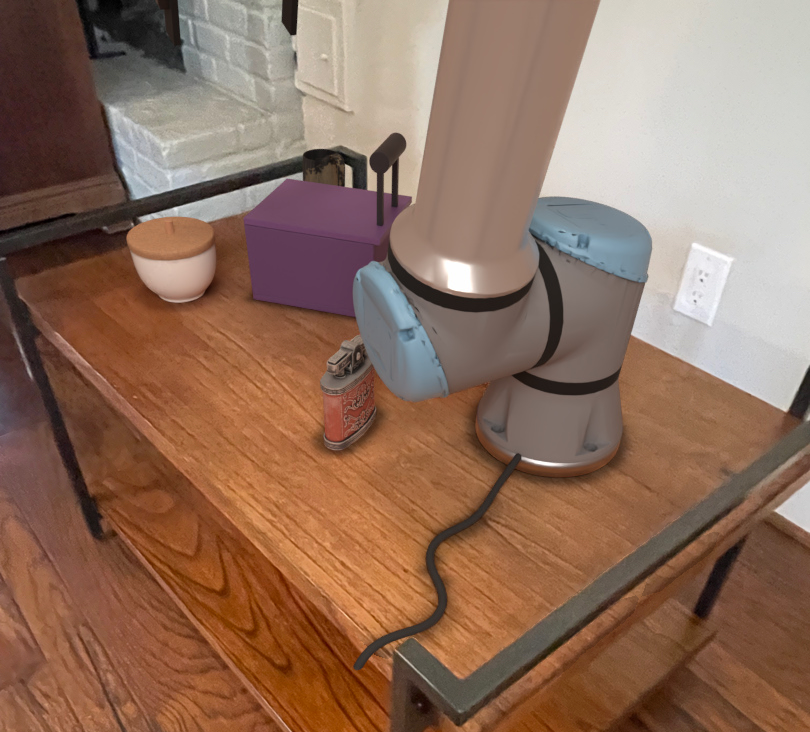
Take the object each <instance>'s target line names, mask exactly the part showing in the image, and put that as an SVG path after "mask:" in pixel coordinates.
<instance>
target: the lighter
mask: <svg viewBox="0 0 810 732" xmlns="http://www.w3.org/2000/svg"><path fill="white" fill-rule="evenodd" d="M319 387H320V390H321V392H322V403H323V406H322V407H323V419H324V433H323V444H324V446H325V447H326V448H327V449H329V450H333V451H342V450H345V449H347V448H348V447H350V446H351V445H352V444H354V443H355V442H357V441H358V440H359V439H361V437H363V436H364V435H365V433H366V432H367V431H368V430H369V428H370V427H371V426H372V425H373V424H374V421H375V419H376V418H377V407H376V405H375V368H374V366H373V364H372V362H371V360H370V358H369V356H368V354H367V352H366V349H365V347H364V344H363V341H362V338H361V335H360V334H357V335H355V336H354V337H353V338H352V339H351V340H347V339H344V340H343V341H342V342H341V344H340V347H339V350H338V351H336V352H335V353H334V354H333V355H331V357H329V358H328V359H327V360H326V371H325V372H324V374H323V375H322V376H321V377H320V380H319Z"/></svg>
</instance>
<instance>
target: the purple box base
mask: <svg viewBox="0 0 810 732" xmlns="http://www.w3.org/2000/svg"><path fill="white" fill-rule="evenodd" d="M243 227H244V235H245V242H246V250H247V258H248V267H249V274H250V282H251V290H252V298H253V300H256V301H262V302H268V303H273V304H279V305H285V306H290V307H296V308H301V309H307V310H312V311H318V312H324V313H328V314H329V313H330V314H335V315H341V316H348V317H351V318H352V317H353V318H356V316H355V311H354V304H353V282H354V278H355V275H356V273H357V271H358V270H359V269H361V268H363V267H364V266H366V265H368V264H369V263H370V262H371V261H376V262H382V261H384V260H385V259H386V257H387V251H388V244H389V237H390V233H389V234H388V235H387V237H386V238H385V239H384V241H383V242H382V243H381V245H373V244H367V243H361V242H354V241H348V240H342V239H335V238H329V237H323V236H316V235H310V234H304V233H297V232H291V231H285V230H278V229H272V228H266V227H259V226H253V225H247V224H244V226H243Z"/></svg>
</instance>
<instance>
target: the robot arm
mask: <svg viewBox="0 0 810 732" xmlns="http://www.w3.org/2000/svg"><path fill="white" fill-rule="evenodd" d="M601 1H602V0H448V5H447V10H446V17H445V20H444V21H445V22H444V27H443V34H442V39H441V46H440V54H439V57H438V65H437V70H436V76H435V82H434V83H435V84H434V88H433V94H432V99H431V106H430V112H429V117H428V118H429V119H428V125H427V130H426V137H425V143H424V150H423V155H422V160H421V165H420V172H419V179H418V183H417V184H418V185H417V191H416V196H415V197H416V198H415V202H414V203H413V204H412V203H411V204H410V206H409V207H407V208H406V209H404V210H403V211H402V212H401V213H400V214H399V215H398V216H397V217H396V218H395V220H394V222H393V224H392V227H391V231H390V237H389V244H388V251H387V257H386V259H385V260H384V261H382V262H376V261H371V262H370V263H369V264H368V265H366V266H364V267H363V268H361V269H359V270H358V271H357V273H356V275H355V278H354V282H353V304H354V311H355V316H356V317H355V321H356V324H357V328H358V332H359V335H361V338H362V341H363V344H364V347H365V349H366V352H367V354H368V356H369V358H370V360H371V362H372V364H373V366H374V371H375V372H376V374H377V376H378V378H380V380H381V382H382V383H383V384H384V385H385V387H386V388H387V389H388V390H389V391H390V392H391V394H392V395H394V396H396V397H397V398H398V399H400V400H402V401H405V402H411V403H420V402H425V401H429V400H434V399H438V398H440V399H446V398H448V397H449V396H451V395H453V394H456V393H460V392H462V391H465V390H469V389H472V388H476V387H478V386H481V385H485V384H488V385H487V387H486V388H485V390H484V392H483V394H482V396H481V398H480V399H479V402H478V403H477V406H476V408H477V410H476V415H475V424H474V427H475V434H476V437H477V439H478V441H479V443H480V444H481V446H482V447H483V448H484V449H485V450H486V452H488V453H489V454H490V455H491V456H492V457H493V458H494V459H496V460H498V461H499V462H500V463H502V464H504V465H505V466H506V467H505V468H504V469H503V471H502V473H500V476H498V478H497V480H495V482H494V484H493V486H492V487H491V489H490V490H489V492H488V494H487V495H486V497H485V498H484V500H483V502H482V503H481V505H480V506H479V507H478V508H477V509H476V511H475V512H474V513H472V514H471V515H470V516H469V517H467V518H465V519H464V520H462V521H460V522H458V523H456V524H455V525H453V526H450V527H448V528H446V529H444V530H442V531H441V532H439V533H438V534H437V535H436V536H435V537H434V538H432V539H431V541H430V543H429V544H428V546H427V549H426V551H425V564H426V568H427V572H428V574H429V576H430V578H431V580H432V582H433V584H434V587H435V590H436V593H437V598H438V602H437V605H436V609H435V610H434V611H433V613H432V614H431V615H430V616H429V617H428V618H426V619H425V620H423V621H421V622H419V623H416V624H414V625H410V626H408V627H404V628H401V629H398V630H394V631H391V632H388V633H386V634H384V635H382V636H380V637H379V638H377V639H375V640H374V641H373V642H371V643H369V644H368V645H367V646H366V648H364V649H363V651H362V652H361V653H360V654H359V656H358V657H357V659H356V660H355V662H354V663H353V666H352V668H353V670H355V671H360V670H362V669H363V668H364V666H365V665H366V663H367V662H368V661H369V659H370V658H371V657H372V656H373V655H374V654H375V653H376V652H377V651H379V650H380V649H382V648H383V647H385V646H386V645H389V644H391V643H393V642H396V641H398V640H399V641H400V640H402V639H405V638H408V637H411V636H415V635H417V634H420V633H423V632H426V631H428V630H429V629H431V628H432V627H434V626H435V625H436V624H437V623H439V622H440V620H441V619H442V617H443V616H444V614H445V612H446V609H447V606H448V593H447V590H446V586H445V584H444V581H443V580H442V577H441V575H440V573H439V571H438V569H437V566H436V562H435V554H436V550H437V548H438V547H439V546H440V545H441V543H443V542H444V541H446V540H447V539H448V538H450V537H451V536H454V535H456V534H458V533H460V532H462V531H464V530H466V529H468V528H469V527H471V526H473V525H474V524H476V523H477V522H478V521H479V520H480V519H481V518H482V517H483V516H484V515H485V514H486V513H487V512H488V510H489V509H490V508H491V506H492V504H493V503H494V501H495V499H496V497H497V496H498V494H499V492H500V491H501V489H502V488H503V487H504V484H505V483H506V482H507V480H508V479H509V477H510V476H511V475H512V473H513V472H514V470H516V471H517V470H518V471H520V472H522V473H526V474H530V475H534V476H538V477H539V476H540V477H546V478H571V477H573V478H574V477H578V476H579V477H580V476H584V475H587V474H591V473H593V472H595V471H598V470H600V469H602V468H603V467H605V466H606V465H608V464H609V463H610V462H611V461H612V460H613V459H614V458H615V456H616V455H617V454H618V453H617V452H618V451H619V447H620V444H621V440H622V438H623V433H624V421H623V411H622V409H623V408H622V402H621V392H620V391H621V390H620V381H619V380H620V375H621V372H622V367H623V363H624V361H625V357H626V353H627V350H628V346H629V342H630V339H631V335H632V332H633V329H634V325H635V321H636V318H637V314H638V311H639V308H640V304H641V300H642V296H643V294H644V289H645V285H646V283H647V282H648V280H649V274H648V273H649V272H648V271H649V268H650V267H649V266H650V261H651V257H652V253H653V238H652V236H651V234H650V232H649V230H648V228H647V227H646V226H645V225H644V224H643V223H641V222H640V221H639V220H638V219H637V218H635V217H634V216H632V215H631V214H629V213H626V212H624V211H622V210H621V209H617V208H615V207H612V206H610V205H607V204H604V203H600V202H597V201H593V200H588V199H584V198H578V197H569V196H559V195H558V196H557V195H556V196H555V195H553V196H540V195H541V192H542V189H543V185H544V182H545V179H546V176H547V173H548V171H549V167H550V163H551V160H552V157H553V153H554V151H555V148H556V145H557V141H558V138H559V135H560V131H561V129H562V125H563V121H564V119H565V115H566V112H567V109H568V106H569V103H570V100H571V97H572V93H573V90H574V87H575V83H576V80H577V77H578V74H579V71H580V67H581V64H582V61H583V58H584V55H585V52H586V49H587V46H588V42H589V39H590V36H591V32H592V29H593V26H594V23H595V20H596V17H597V14H598V10H599V7H600V4H601ZM155 2H156V4H157V6H158V8H159V9H160V10H163V12H164V13H163V14H164V25H165V32H166V34H167V36H168V38H169V39H170V41H171V43H172V44H173V46H174V47H175V46H176V47H177V46H178V47H179V46H182V39H181V37H182V36H181V26H180V25H181V24H180V11H179V0H155ZM298 15H299V0H281V24H282V25H283V26H284V29H286V31H287V33H288V34H289V36H297V35H298V34H297V33H298V17H299V16H298Z"/></svg>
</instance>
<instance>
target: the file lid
mask: <svg viewBox="0 0 810 732" xmlns="http://www.w3.org/2000/svg"><path fill="white" fill-rule="evenodd" d="M406 149H407V140H406V137H405V136H404V135H403V134H401V133H400V132H392V133H390V134H389V135H388V136H387V137H386V139H385V140H384V141H383V142H382V143H381V144H380V145H379V146H378V147H377V148H376V149H375V150H374V151H373V152H372V154H371V155H370V157H369V159H368V164H369V167H370V169H371V170H372V172H374V173H375V174H376V190H369V189H362V188H356V187H349V186H345V187H342V186H335V185H328V184H322V183H315V182H308V181H303V180H301V179H300V180H299V179H295V178H294V179H292V178H286V179H284V181H282V182H281V183H280V184H279V185H278V186H277V187H276V188H274V189H273V190H272V191H271V192H270V193H269V194H268V195H267V196H266V197H264V198H263V199H262V200H261V201H260V202H259V203H258V204H257V205H256V206H254V208H252V210H250V211H249V212H248V213H246V215H245V216H244V217H243V218H242V219H243V224H244V225H245V224H247V225H253V226H259V227H266V228H272V229H278V230H285V231H291V232H297V233H304V234H310V235H316V236H323V237H329V238H335V239H342V240H348V241H354V242H361V243H367V244H373V245H381V243H382V242H383V241H384V239H385V238H386V237H387V235H388V234H389V233H390V231H391V227H392V224H393V222H394V220H395V218H396V217H397V216H398V215H399V214H400V213H401V212H402V211H403V210H404V209H406V208H407V207H409V206H410V205H412V203H413V196H411V195H404V194H399V178H400V177H399V176H400V174H399V173H400V157H401V156H402V155H403V153H404V152H405V151H406ZM390 168H391V192H385V173H387V172H388V170H389V169H390Z"/></svg>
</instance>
